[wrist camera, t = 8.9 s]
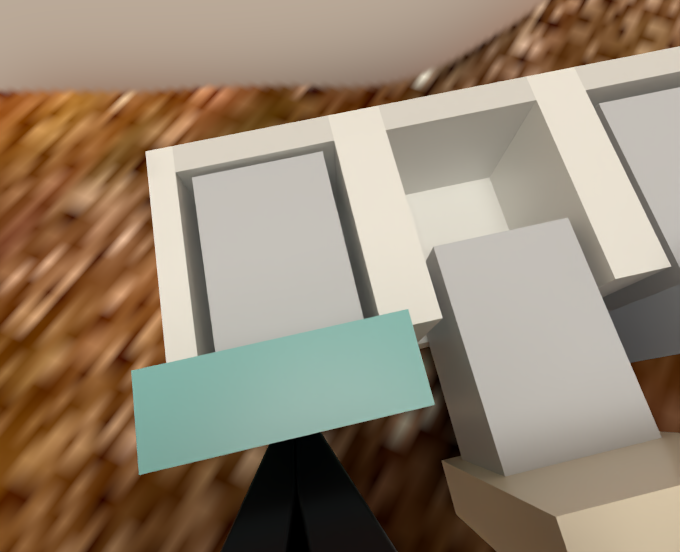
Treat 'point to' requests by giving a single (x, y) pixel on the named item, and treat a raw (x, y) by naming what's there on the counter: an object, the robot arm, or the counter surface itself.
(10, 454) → the counter surface
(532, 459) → the button tan
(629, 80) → the gray divided box
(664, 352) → the drawer slate
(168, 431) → the button teal
